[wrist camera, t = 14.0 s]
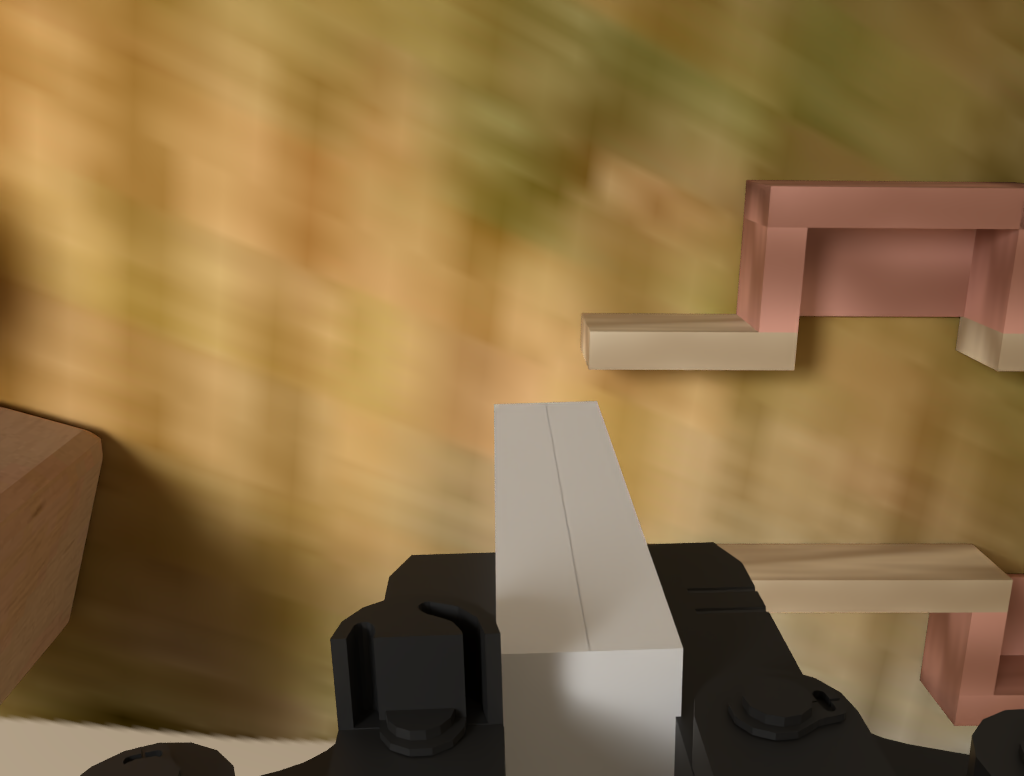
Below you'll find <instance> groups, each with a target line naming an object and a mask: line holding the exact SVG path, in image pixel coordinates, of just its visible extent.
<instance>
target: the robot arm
mask: <svg viewBox="0 0 1024 776" xmlns="http://www.w3.org/2000/svg"><path fill="white" fill-rule="evenodd" d="M494 439H495V549H496V553H465V554H433V555H411V556H410V557H409V558H408V559H407V560H406V561H405V562H404V563H403V564H402V565H401V566H400V567H399V568H398V569H397V570H396V571H395V572H394V573H393V574H392V575H391V576H390V577H389V581H388V585H387V590H386V595H385V599H384V601H381V602H378V603H375V604H372V605H369V606H366V607H364V608H362V609H360V610H359V611H357V612H356V613H354V614H353V615H351V616H350V617H348V618H347V619H345V620H344V621H342V622H341V624H340V625H339V627H338V628H337V630H336V631H335V633H334V634H333V636H332V637H331V639H330V641H331V652H332V663H333V674H334V685H335V696H336V707H337V718H338V729H339V730H338V735H337V739H336V743H335V744H334V745H333V746H332V747H331V748H329V749H328V750H327V751H325V752H323V753H321V754H320V755H318V756H316V757H314V758H312V759H310V760H308V761H306V762H304V763H301V764H298V765H295V766H292V767H290V768H286V769H283V770H280V771H277V772H273V773H269V774H265V775H261V776H1024V709H1014V710H1004V711H1002V712H999V713H997V714H994V715H992V716H990V717H987V718H985V719H983V720H982V721H981V723H980V724H979V726H978V727H977V729H976V730H975V732H974V733H973V735H972V741H971V748H970V755H967V754H961V753H955V752H949V751H944V750H938V749H932V748H926V747H921V746H915V745H909V744H905V743H901V742H897V741H893V740H889V739H885V738H882V737H879V736H876V735H874V734H871V732H870V731H869V729H868V727H867V726H866V724H865V722H864V721H863V719H862V717H861V716H860V714H859V712H858V711H857V710H856V709H855V707H854V706H853V705H852V704H851V703H850V702H849V701H848V700H847V699H846V698H845V697H844V696H843V695H842V693H840V692H839V691H837V690H835V689H833V688H832V687H830V686H828V685H826V684H825V683H823V682H821V681H819V680H817V679H816V678H813V677H809V676H806V675H803V674H802V672H801V670H800V669H799V667H798V665H797V663H796V661H795V659H794V658H793V656H792V654H791V652H790V650H789V648H788V646H787V645H786V643H785V641H784V639H783V637H782V635H781V633H780V632H779V630H778V628H777V626H776V624H775V622H774V621H773V619H772V617H771V615H770V613H769V612H766V606H765V604H764V602H763V600H762V598H761V596H760V595H759V593H758V591H755V585H754V584H753V582H752V580H751V578H750V576H749V574H748V572H747V571H746V569H745V567H744V565H743V563H742V562H741V561H739V560H738V559H737V558H735V557H734V556H732V555H731V554H729V553H728V552H726V551H725V550H724V549H722V548H721V547H719V546H718V545H716V544H715V543H713V542H708V543H677V544H647V543H646V540H645V538H644V535H643V532H642V529H641V526H640V523H639V520H638V518H637V515H636V512H635V509H634V506H633V503H632V500H631V498H630V495H629V492H628V489H627V486H626V483H625V480H624V477H623V475H622V472H621V469H620V466H619V463H618V460H617V457H616V455H615V452H614V449H613V446H612V443H611V440H610V437H609V434H608V432H607V429H606V426H605V423H604V420H603V417H602V414H601V412H600V409H599V406H598V403H597V401H586V402H553V403H520V404H494ZM80 776H235V773H234V767H233V765H232V764H231V763H230V762H229V761H228V760H227V759H226V758H224V756H222V755H221V754H220V753H219V752H218V751H217V750H214V749H211V748H207V747H204V746H201V745H198V744H194V743H157V744H153V745H148V746H144V747H139V748H136V749H132V750H128V751H124V752H122V753H120V754H118V755H115V756H113V757H111V758H109V759H107V760H105V761H103V762H101V763H99V764H97V765H94V766H92V767H91V768H89V769H88V770H87V771H85V772H84V773H83V774H82V775H80Z"/></svg>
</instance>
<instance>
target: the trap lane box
mask: <svg viewBox="0 0 1024 776" xmlns="http://www.w3.org/2000/svg"><path fill="white" fill-rule="evenodd" d="M799 316H903V317H960V323H959V330H958V337H957V345H956V350H957V351H959V352H961V353H963V354H965V355H967V356H969V357H971V358H973V359H975V360H977V361H979V362H981V363H983V364H984V365H986V366H988V367H990V368H992V369H994V370H996V371H1024V183H1016V182H902V181H788V180H747V181H746V194H745V207H744V221H743V234H742V247H741V261H740V274H739V287H738V300H737V314H611V313H582V318H581V351H582V353H583V356H584V358H585V361H586V364H587V366H588V369H595V370H794V368H795V357H796V346H797V336H798V325H799ZM716 545H718V546H719V547H721V548H722V549H724V550H725V551H726V552H728V553H729V554H731V555H732V556H734V557H735V558H737V559H738V560H739V561H741V562H742V563H743V565H744V567H745V569H746V571H747V572H748V574H749V576H750V578H751V580H752V582H753V584H754V585H755V591H758V593H759V595H760V596H761V598H762V600H763V602H764V604H765V606H766V612H769V613H929V620H928V627H927V634H926V641H925V648H924V655H923V662H922V669H921V676H920V681H921V682H922V684H923V685H924V686H925V688H926V689H927V690H928V692H929V693H930V694H931V695H932V697H933V698H934V699H935V701H936V702H937V703H938V705H939V706H940V707H941V709H942V710H943V711H944V713H945V714H946V715H947V716H948V718H949V719H950V720H951V722H952V723H953V724H954V726H979V724H980V723H981V721H982V720H983V719H985V718H987V717H990V716H992V715H994V714H997V713H999V712H1002V711H1004V710H1014V709H1024V574H1006V573H1004V572H1003V571H1002V570H1001V569H1000V568H999V567H998V566H997V565H995V564H994V563H993V562H992V561H991V560H990V559H989V558H988V557H986V556H985V555H984V554H983V553H982V552H981V551H980V550H979V549H977V548H976V547H975V546H974V545H973V544H716Z"/></svg>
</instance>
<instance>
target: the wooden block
mask: <svg viewBox="0 0 1024 776" xmlns="http://www.w3.org/2000/svg"><path fill="white" fill-rule="evenodd" d="M102 460H103V452H102V444H101V438H99V437H98V436H96V435H95V434H93V433H92V432H90V431H88V430H84V429H80V428H77V427H73V426H69V425H66V424H62V423H59V422H55V421H51V420H48V419H44V418H40V417H37V416H33V415H29V414H26V413H22V412H18V411H15V410H11V409H7V408H4V407H0V705H1V703H2V702H3V701H4V700H5V699H6V697H7V696H8V695H9V694H10V693H11V691H12V690H13V689H14V688H15V687H16V685H17V684H18V683H19V682H20V681H21V679H22V678H23V677H24V676H25V674H26V673H27V672H28V671H29V670H30V668H31V667H32V666H33V665H34V664H35V662H36V661H37V660H38V659H39V658H40V656H41V655H42V654H43V653H44V652H45V650H46V649H47V648H48V647H49V646H50V644H51V643H52V642H53V641H54V640H55V638H56V637H57V636H58V635H59V634H60V632H61V631H62V630H63V628H64V627H65V626H66V625H67V623H68V622H69V619H70V614H71V609H72V605H73V600H74V595H75V590H76V585H77V580H78V576H79V571H80V566H81V561H82V556H83V551H84V547H85V542H86V537H87V532H88V527H89V522H90V518H91V513H92V508H93V503H94V498H95V493H96V489H97V484H98V479H99V474H100V469H101V465H102Z"/></svg>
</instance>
